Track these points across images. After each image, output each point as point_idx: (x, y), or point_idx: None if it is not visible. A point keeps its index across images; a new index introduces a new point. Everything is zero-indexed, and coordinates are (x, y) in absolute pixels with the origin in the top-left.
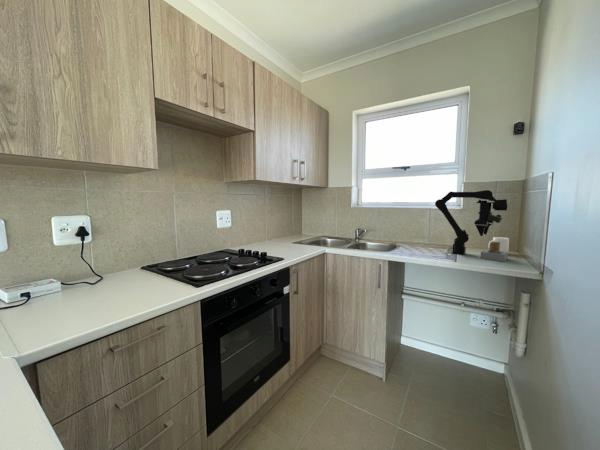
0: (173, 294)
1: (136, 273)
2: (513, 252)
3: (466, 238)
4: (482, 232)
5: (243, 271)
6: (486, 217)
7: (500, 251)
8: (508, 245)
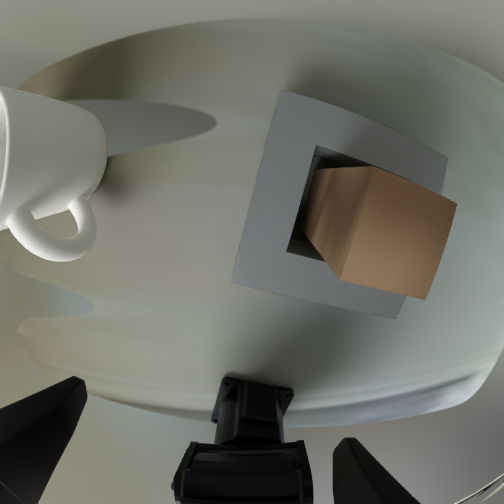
0: None
1: (490, 494)
2: None
3: (311, 481)
4: (387, 482)
5: (496, 480)
6: None
7: (285, 153)
8: (39, 95)
